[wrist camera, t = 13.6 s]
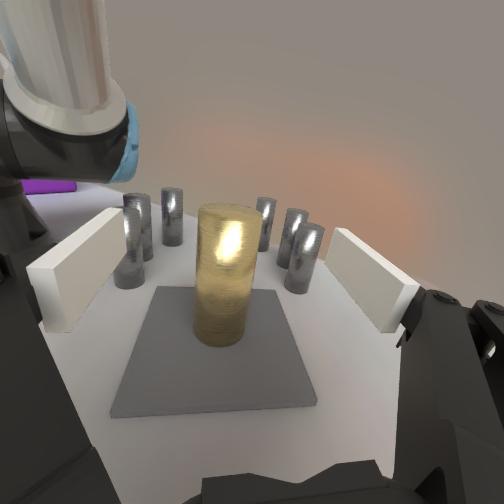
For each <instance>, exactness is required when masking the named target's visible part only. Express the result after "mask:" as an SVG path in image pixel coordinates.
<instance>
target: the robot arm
mask: <svg viewBox="0 0 504 504" xmlns="http://www.w3.org/2000/svg"><path fill="white" fill-rule="evenodd" d="M0 38H1V40H2V43H3V45H4V47H5V50H6V52H7V54H8V57H9V59H10V61H11V65H9V66H8V68H7V69H6V71H5V74H4V77H3V80H2V79H0V504H121V502H120V500H119V498H118V495H117V493H116V491H115V489H114V487H113V484H112V482H111V480H110V478H109V475H108V473H107V471H106V469H105V467H104V464H103V462H102V460H101V458H100V456H99V454H98V452H97V450H96V449H95V447H93V446H92V444H91V442H90V440H89V438H88V436H87V434H86V431H85V429H84V427H83V425H82V422H81V420H80V418H79V416H78V413H77V411H76V409H75V407H74V404H73V402H72V400H71V398H70V395H69V393H68V391H67V389H66V386H65V384H64V382H63V380H62V377H61V375H60V373H59V371H58V368H57V366H56V364H55V362H54V359H53V357H52V355H51V353H50V350H49V348H48V346H47V344H46V341H45V339H44V337H43V335H42V332H41V330H40V328H39V326H38V324H39V323H40V322H41V321H43V325H44V328H45V331H46V332H53V333H69V332H70V331H71V330H72V328H73V327H74V325H75V324H76V323H77V321H78V320H79V318H80V317H81V316H82V314H83V313H84V311H85V310H86V309H87V307H88V306H89V304H90V303H91V302H92V300H93V299H94V297H95V296H96V295H97V293H98V292H99V290H100V289H101V288H102V286H103V285H104V283H105V282H106V281H107V279H108V278H109V276H110V275H111V274H112V272H113V271H114V269H115V268H116V267H117V265H118V264H119V262H120V261H121V260H122V258H123V257H124V255H125V254H126V253H127V248H126V237H125V227H124V217H123V209H121V208H110V207H108V208H106V209H105V210H104V211H102V212H101V213H100V214H98V215H97V216H95V217H94V218H93V219H91V220H90V221H89V222H87V223H86V224H84V225H83V226H82V227H80V228H79V229H78V230H76V231H75V232H74V233H72V234H71V235H69V236H68V237H67V238H65V239H64V240H63V241H61V242H60V243H53V244H52V239H51V235H50V231H49V229H48V227H47V226H46V224H45V223H44V222H43V220H42V219H41V217H40V216H39V215H38V213H37V212H36V210H35V209H34V207H33V206H32V205H31V203H30V202H29V200H28V199H27V197H26V195H25V192H24V189H23V185H22V181H21V179H23V180H51V181H70V182H90V183H103V184H109V183H123V182H128V181H130V180H131V179H132V178H133V177H134V175H135V172H136V168H137V163H138V146H139V123H138V116H137V112H136V109H135V107H134V106H133V105H132V104H131V103H129V102H127V101H126V100H125V97H124V94H123V92H122V90H121V88H120V87H119V86H118V84H117V83H116V82H115V81H114V80H113V79H112V78H111V76H110V64H109V52H108V40H107V27H106V15H105V3H104V0H0ZM324 264H325V265H326V266H327V268H328V269H329V270H330V271H331V273H332V274H333V275H334V276H335V278H336V279H337V280H338V281H339V282H340V284H341V285H342V286H343V287H344V289H345V290H346V291H347V292H348V294H349V295H350V296H351V297H352V298H353V300H354V301H355V302H356V303H357V305H358V306H359V307H360V308H361V309H362V311H363V312H364V313H365V314H366V316H367V317H368V318H369V319H370V321H371V322H372V323H373V324H374V325H375V327H376V328H377V329H378V330H379V332H380V333H395V332H396V330H397V328H398V326H399V324H400V323H401V324H402V325H403V326H404V327H405V328H406V329H405V331H404V333H403V334H402V336H401V338H400V340H399V342H398V343H397V345H396V347H397V348H399V346H401V363H400V380H399V397H398V414H397V431H396V448H395V464H394V474H393V478H392V479H390V478H387V477H384V476H382V474H381V472H380V470H379V468H378V466H377V464H376V462H375V460H366V461H357V462H348V463H339V464H335V465H333V466H331V467H330V468H328V469H326V470H324V471H322V472H320V473H318V474H317V475H315V476H313V477H311V478H309V479H307V480H305V481H304V482H302V483H297V484H295V483H290V482H286V481H281V480H277V479H273V478H268V477H264V476H259V475H255V474H251V473H246V474H237V475H228V476H219V477H209V478H203V479H202V489H201V494H199V495H197V496H195V497H193V498H191V499H189V500H187V501H186V502H184V503H183V504H504V307H503V306H501V305H498V304H496V303H493V302H492V303H491V302H488V301H483V300H478V301H476V303H475V305H474V306H473V307H472V309H471V308H467V307H462V306H461V304H460V303H459V301H458V300H457V299H455V298H453V297H452V296H450V295H448V294H446V293H444V292H441V291H437V290H427V291H426V290H425V289H424V288H422V287H421V286H420V285H419V284H418V283H417V282H415V281H414V280H413V279H411V278H410V277H409V276H408V275H406V274H405V273H404V272H402V271H401V270H400V269H398V268H397V267H396V266H394V265H393V264H391V263H390V262H389V261H388V260H386V259H385V258H384V257H382V256H381V255H380V254H379V253H377V252H376V251H375V250H373V249H372V248H371V247H369V246H368V245H367V244H365V243H364V242H363V241H361V240H360V239H359V238H357V237H356V236H355V235H353V234H352V233H351V232H350V231H348V230H347V229H344V228H335V231H334V234H333V237H332V240H331V244H330V247H329V250H328V253H327V256H326V260H325V263H324ZM494 346H495V347H496V348H495V352H494V354H493V355H492V356H491V358H490V356H489V355H488V353H489V352H490V351H491V350H492V348H493V347H494Z"/></svg>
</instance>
